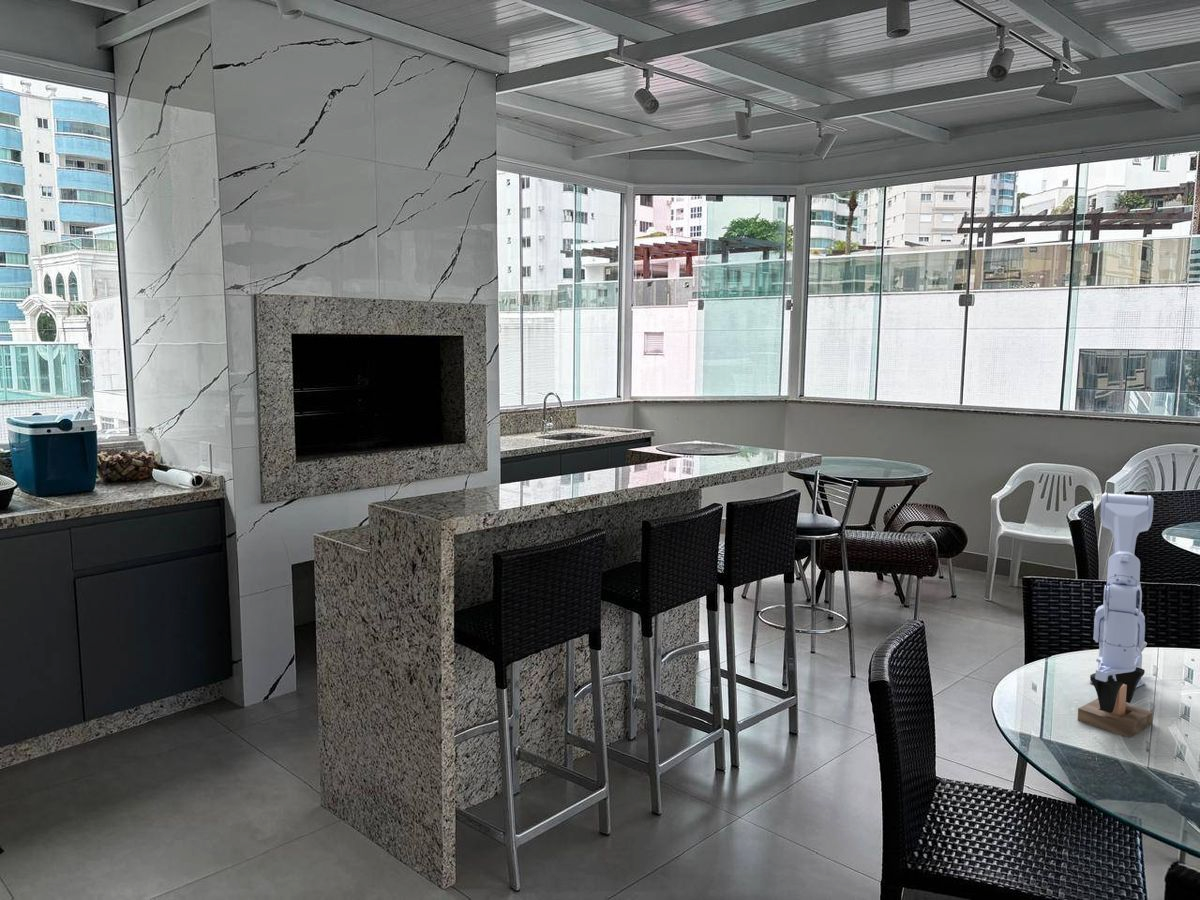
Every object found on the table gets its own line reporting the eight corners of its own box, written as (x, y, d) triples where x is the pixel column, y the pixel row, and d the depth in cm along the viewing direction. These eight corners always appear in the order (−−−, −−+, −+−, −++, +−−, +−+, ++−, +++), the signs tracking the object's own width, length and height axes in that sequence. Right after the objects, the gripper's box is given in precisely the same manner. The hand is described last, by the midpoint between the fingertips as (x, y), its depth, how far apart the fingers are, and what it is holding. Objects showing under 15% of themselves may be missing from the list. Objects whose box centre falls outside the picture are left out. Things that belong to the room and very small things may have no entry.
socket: (1101, 707, 187) (1102, 696, 186) (1152, 723, 178) (1153, 712, 178) (1077, 719, 181) (1078, 708, 181) (1129, 737, 173) (1129, 725, 172)
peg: (1109, 717, 182) (1111, 680, 181) (1124, 722, 180) (1126, 684, 178) (1102, 720, 180) (1104, 683, 179) (1117, 726, 178) (1119, 688, 177)
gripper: (1116, 629, 185) (1112, 690, 187) (1081, 644, 177) (1077, 708, 178) (1152, 638, 179) (1148, 701, 181) (1118, 654, 171) (1114, 720, 173)
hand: (1115, 706), depth 179 cm, fingers open, 7 cm apart
